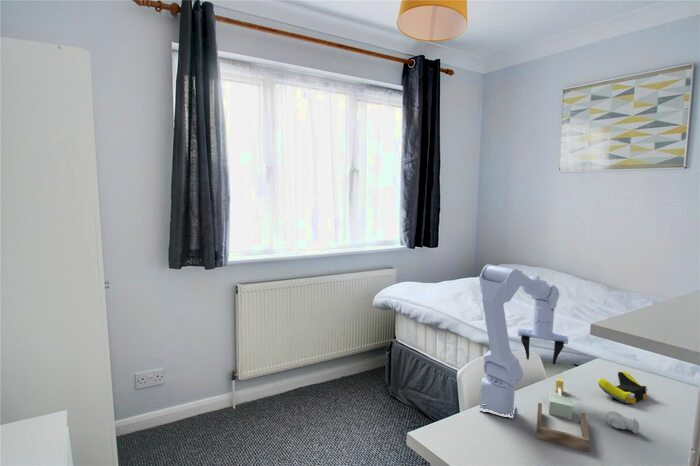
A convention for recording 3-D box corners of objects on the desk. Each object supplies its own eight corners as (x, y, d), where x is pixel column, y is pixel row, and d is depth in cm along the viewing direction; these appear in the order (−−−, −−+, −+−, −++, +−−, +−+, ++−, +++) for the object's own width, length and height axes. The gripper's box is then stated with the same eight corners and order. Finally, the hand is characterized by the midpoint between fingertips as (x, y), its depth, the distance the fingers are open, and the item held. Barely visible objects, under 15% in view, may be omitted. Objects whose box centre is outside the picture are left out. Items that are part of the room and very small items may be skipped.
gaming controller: (593, 394, 129) (626, 409, 120) (595, 377, 129) (628, 391, 120) (620, 384, 136) (653, 397, 127) (621, 368, 135) (654, 381, 127)
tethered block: (548, 414, 117) (549, 401, 116) (548, 387, 132) (549, 376, 132) (572, 419, 114) (573, 406, 114) (569, 392, 130) (570, 380, 129)
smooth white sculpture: (602, 427, 113) (611, 417, 115) (633, 442, 106) (643, 431, 108) (600, 414, 112) (610, 404, 114) (632, 429, 105) (641, 418, 107)
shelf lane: (536, 438, 105) (536, 427, 105) (537, 412, 118) (538, 402, 117) (588, 451, 100) (589, 440, 100) (584, 423, 112) (585, 413, 112)
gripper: (568, 320, 128) (565, 360, 129) (519, 313, 134) (517, 352, 136) (569, 326, 122) (566, 369, 123) (518, 319, 128) (515, 359, 130)
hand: (540, 360), depth 129 cm, fingers open, 7 cm apart
